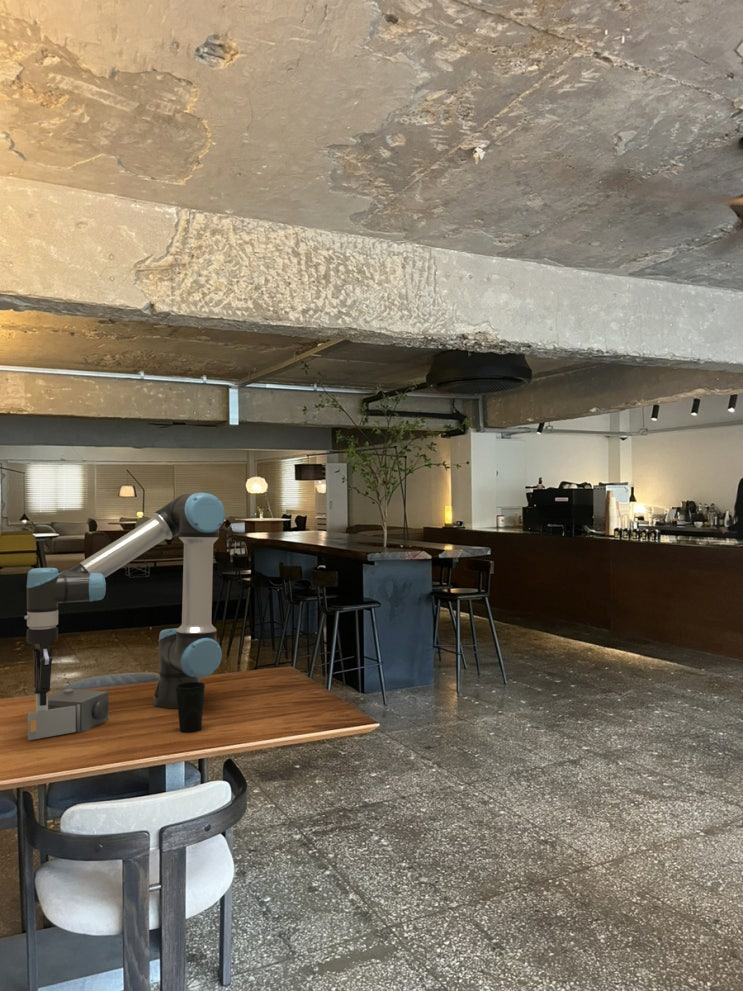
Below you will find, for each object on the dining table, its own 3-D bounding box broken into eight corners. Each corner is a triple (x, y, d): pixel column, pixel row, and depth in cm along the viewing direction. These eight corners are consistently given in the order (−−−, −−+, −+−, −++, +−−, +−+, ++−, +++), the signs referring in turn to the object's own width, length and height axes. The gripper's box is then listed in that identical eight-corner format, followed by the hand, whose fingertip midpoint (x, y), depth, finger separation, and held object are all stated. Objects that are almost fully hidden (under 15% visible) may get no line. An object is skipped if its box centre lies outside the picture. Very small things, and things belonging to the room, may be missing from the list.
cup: (178, 735, 190) (177, 689, 190) (173, 727, 197) (173, 683, 197) (207, 731, 193) (207, 686, 193) (202, 724, 200) (202, 680, 200)
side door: (74, 731, 193) (74, 705, 193) (76, 732, 192) (76, 706, 192) (27, 739, 186) (27, 713, 186) (28, 740, 185) (28, 714, 185)
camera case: (113, 720, 205) (113, 689, 205) (84, 733, 192) (84, 700, 192) (66, 717, 209) (65, 686, 209) (34, 730, 196) (34, 697, 196)
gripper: (22, 625, 193) (21, 713, 192) (31, 631, 182) (30, 725, 182) (52, 622, 197) (52, 709, 196) (63, 628, 186) (62, 720, 186)
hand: (41, 717), depth 189 cm, fingers closed
